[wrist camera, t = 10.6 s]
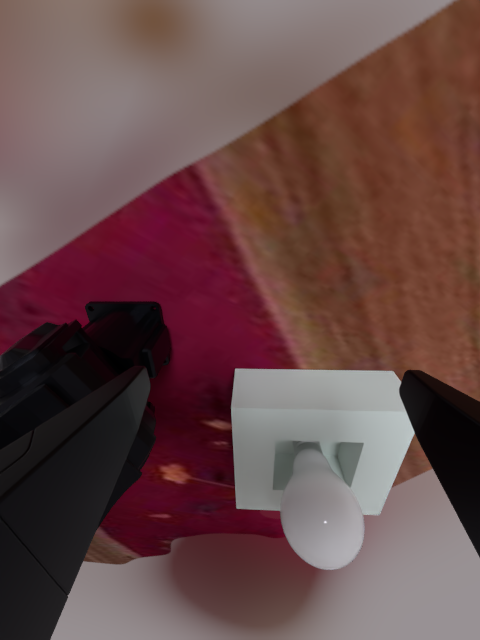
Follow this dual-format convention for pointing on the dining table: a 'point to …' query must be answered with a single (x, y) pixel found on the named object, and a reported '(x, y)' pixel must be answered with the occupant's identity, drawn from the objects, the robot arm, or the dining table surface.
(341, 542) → the lightbulb
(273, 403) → the socket block
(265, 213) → the dining table surface
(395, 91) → the dining table surface
